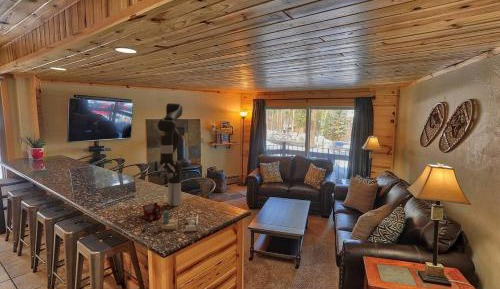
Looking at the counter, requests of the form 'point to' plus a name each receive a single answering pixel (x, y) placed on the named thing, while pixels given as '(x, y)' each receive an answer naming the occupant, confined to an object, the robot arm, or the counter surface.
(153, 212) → the toy fire truck
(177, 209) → the counter surface
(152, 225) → the track
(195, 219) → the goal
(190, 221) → the ball
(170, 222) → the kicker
